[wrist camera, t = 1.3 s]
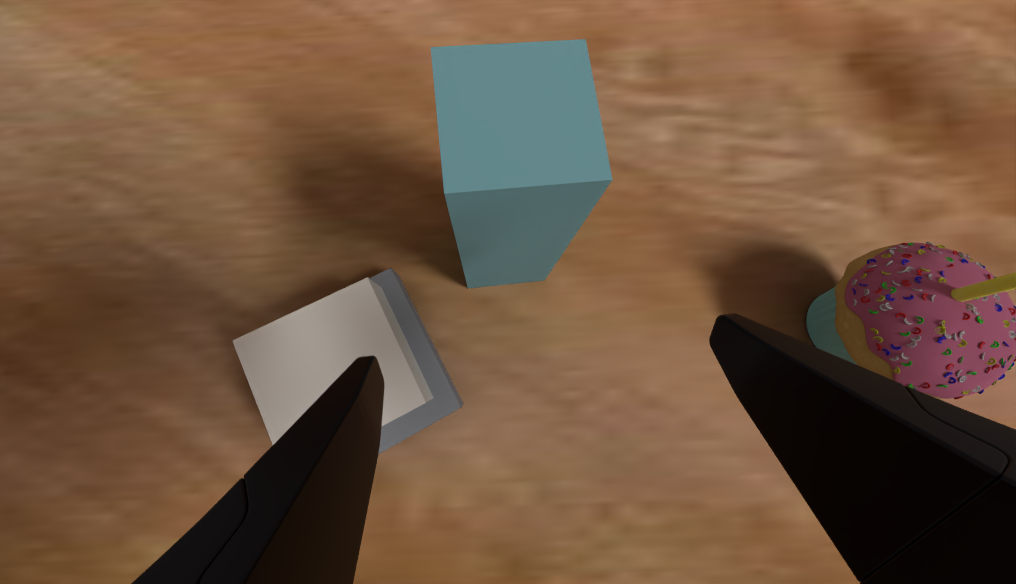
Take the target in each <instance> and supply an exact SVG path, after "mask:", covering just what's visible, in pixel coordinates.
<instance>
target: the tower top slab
mask: <svg viewBox="0 0 1016 584" xmlns="http://www.w3.org/2000/svg"><path fill="white" fill-rule="evenodd" d="M233 344H234V347H235V349H236V352H237V354H238V357H239V359H240V362H241V365H242V367H243V370H244V372H245V375H246V377H247V380H248V383H249V385H250V388H251V390H252V393H253V395H254V398H255V401H256V403H257V406H258V408H259V411H260V413H261V416H262V419H263V421H264V424H265V426H266V429H267V431H268V434H269V437H270V439H271V442H272V444H273V445H274V444H275V443H276V441H277V440H278V439H279V438H280V437H281V436H282V435H283V434H284V433H285V432H286V431H287V430H288V429H289V428H290V427H291V426H292V425H293V424H294V423H295V422H296V421H297V420H298V419H299V418H300V417H301V416H302V415H303V413H304V412H305V411H306V410H307V409H308V408H309V407H310V406H311V405H312V404H313V403H314V402H315V401H316V400H317V399H318V398H319V397H320V396H321V395H322V394H323V393H324V392H325V391H326V390H327V389H328V388H329V386H330V385H331V384H332V383H333V382H334V381H335V380H336V379H337V378H338V377H339V376H340V375H341V374H342V373H343V372H344V371H345V370H346V369H347V368H348V367H349V366H350V365H351V364H352V363H353V362H354V361H355V360H356V359H357V358H358V357H362V356H371V355H373V356H375V357H376V358H377V360H378V363H379V366H380V369H381V371H382V374H383V377H384V384H385V388H384V401H383V414H382V426H384V425H385V424H387V423H389V422H391V421H393V420H395V419H397V418H399V417H400V416H402V415H404V414H406V413H408V412H410V411H412V410H414V409H415V408H417V407H419V406H421V405H423V404H425V403H427V402H428V401H430V400H431V399H433V395H432V393H431V391H430V389H429V387H428V385H427V383H426V381H425V378H424V376H423V374H422V372H421V370H420V368H419V366H418V364H417V361H416V359H415V357H414V355H413V353H412V351H411V349H410V347H409V344H408V342H407V340H406V338H405V336H404V334H403V332H402V330H401V327H400V325H399V323H398V321H397V319H396V317H395V315H394V313H393V311H392V308H391V306H390V304H389V302H388V300H387V298H386V296H385V294H384V291H383V289H382V287H380V286H379V285H377V284H376V283H375V282H373V281H372V280H371V279H369V278H368V277H367V278H365V279H363V280H361V281H358V282H356V283H354V284H352V285H350V286H348V287H346V288H344V289H341V290H339V291H337V292H335V293H333V294H331V295H329V296H326V297H324V298H322V299H320V300H318V301H316V302H314V303H312V304H309V305H307V306H305V307H303V308H301V309H299V310H297V311H294V312H292V313H290V314H288V315H286V316H284V317H282V318H280V319H277V320H275V321H273V322H271V323H269V324H267V325H265V326H262V327H260V328H258V329H256V330H254V331H252V332H250V333H248V334H245V335H243V336H241V337H239V338H237V339H235V340H233Z"/></svg>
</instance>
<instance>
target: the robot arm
mask: <svg viewBox="0 0 1016 584" xmlns="http://www.w3.org/2000/svg"><path fill="white" fill-rule="evenodd" d="M709 342H710V346H711V348H712V350H713V352H714V354H715V356H716V358H717V360H718V362H719V364H720V366H721V368H722V370H723V371H724V373H725V375H726V377H727V379H728V381H729V383H730V385H731V387H732V389H733V390H734V392H735V394H736V396H737V397H738V399H739V401H740V402H741V404H742V405H743V407H744V408H745V410H746V411H747V413H748V414H749V416H750V417H751V419H752V420H753V422H754V424H755V425H756V427H757V428H758V430H759V431H760V433H761V434H762V436H763V437H764V439H765V440H766V442H767V443H768V445H769V446H770V448H771V449H772V451H773V452H774V454H775V455H776V457H777V458H778V460H779V461H780V463H781V465H782V466H783V468H784V469H785V471H786V472H787V474H788V475H789V477H790V478H791V480H792V481H793V483H794V484H795V486H796V487H797V489H798V490H799V492H800V493H801V495H802V496H803V498H804V499H805V501H806V502H807V504H808V506H809V507H810V509H811V510H812V512H813V513H814V515H815V516H816V518H817V519H818V521H819V522H820V524H821V525H822V527H823V528H824V530H825V531H826V533H827V534H828V536H829V537H830V539H831V540H832V542H833V543H834V545H835V547H836V548H837V550H838V551H839V553H840V554H841V556H842V557H843V559H844V560H845V562H846V563H847V565H848V566H849V568H850V569H851V571H852V572H853V574H854V575H855V577H856V578H857V580H858V581H859V582H860V584H1016V429H1013V428H1010V427H1008V426H1005V425H1003V424H1000V423H997V422H995V421H992V420H990V419H987V418H984V417H982V416H979V415H977V414H974V413H972V412H969V411H966V410H964V409H961V408H959V407H956V406H954V405H952V404H949V403H947V402H944V401H942V400H939V399H937V398H935V397H932V396H930V395H927V394H925V393H923V392H920V391H918V390H916V389H913V388H911V387H909V386H904V385H903V384H901V383H899V382H896V381H894V380H892V379H889V378H887V377H885V376H882V375H880V374H878V373H875V372H873V371H870V370H868V369H866V368H863V367H861V366H859V365H856V364H854V363H852V362H849V361H847V360H844V359H842V358H840V357H837V356H835V355H833V354H830V353H828V352H826V351H823V350H821V349H818V348H816V347H814V346H811V345H809V344H807V343H804V342H802V341H800V340H797V339H795V338H793V337H790V336H788V335H785V334H783V333H781V332H778V331H776V330H774V329H771V328H769V327H767V326H764V325H762V324H759V323H757V322H755V321H752V320H750V319H748V318H745V317H743V316H741V315H738V314H735V313H731V314H723V315H719V316H718V317H717V319H716V321H715V324H714V327H713V329H712V332H711V335H710V339H709ZM384 388H385V384H384V377H383V374H382V371H381V369H380V366H379V363H378V360H377V358H376V357H375V356H373V355H371V356H362V357H358V358H357V359H356V360H355V361H354V362H353V363H352V364H351V365H350V366H349V367H348V368H347V369H346V370H345V371H344V372H343V373H342V374H341V375H340V376H339V377H338V378H337V379H336V380H335V381H334V382H333V383H332V384H331V385H330V386H329V388H328V389H327V390H326V391H325V392H324V393H323V394H322V395H321V396H320V397H319V398H318V399H317V400H316V401H315V402H314V403H313V404H312V405H311V406H310V407H309V408H308V409H307V410H306V411H305V412H304V413H303V415H302V416H301V417H300V418H299V419H298V420H297V421H296V422H295V423H294V424H293V425H292V426H291V427H290V428H289V429H288V430H287V431H286V432H285V433H284V434H283V435H282V436H281V437H280V438H279V439H278V440H277V441H276V443H275V444H274V445H273V446H272V447H271V448H270V449H269V450H268V451H267V452H266V453H265V454H264V455H263V456H262V457H261V458H260V459H259V460H258V461H257V462H256V463H255V464H254V465H253V466H252V467H251V468H250V470H249V471H248V472H247V473H246V474H245V475H244V478H241V479H240V480H239V481H238V482H237V483H236V484H235V485H234V486H233V487H232V488H231V489H230V490H229V491H228V492H227V493H226V494H225V495H224V496H223V497H222V498H221V499H220V500H219V501H218V502H217V503H216V504H215V505H214V506H213V507H212V508H211V509H210V510H209V511H208V512H207V513H206V514H205V515H204V516H203V517H202V518H201V519H200V520H199V521H198V522H197V523H196V524H195V525H194V526H193V527H192V528H191V529H190V530H189V531H188V532H187V533H186V534H185V535H183V536H182V537H181V538H180V539H179V540H178V541H177V542H176V543H175V544H174V545H173V546H172V547H171V548H170V549H169V550H168V551H166V552H165V553H164V554H163V555H162V556H161V557H160V558H159V559H158V560H157V561H156V562H154V563H153V564H152V565H151V566H150V567H149V568H148V569H147V570H146V571H145V572H144V573H142V574H141V575H140V576H139V577H138V578H137V579H136V580H135V581H134V582H133V583H132V584H353V581H354V576H355V571H356V565H357V560H358V555H359V550H360V545H361V540H362V535H363V530H364V525H365V520H366V514H367V509H368V504H369V499H370V494H371V489H372V484H373V479H374V474H375V469H376V464H377V458H378V453H379V447H380V439H381V427H382V414H383V401H384Z"/></svg>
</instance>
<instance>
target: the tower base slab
mask: <svg viewBox="0 0 1016 584" xmlns="http://www.w3.org/2000/svg"><path fill="white" fill-rule="evenodd" d="M369 279H371V280H372V281H373V282H375V283H376V284H377V285H379V286H380V287H382V289H383V291H384V294H385V296H386V298H387V300H388V302H389V304H390V306H391V308H392V311H393V313H394V315H395V317H396V319H397V321H398V323H399V325H400V327H401V330H402V332H403V334H404V336H405V338H406V340H407V342H408V344H409V347H410V349H411V351H412V353H413V355H414V357H415V359H416V361H417V364H418V366H419V368H420V370H421V372H422V374H423V376H424V378H425V381H426V383H427V385H428V387H429V389H430V391H431V393H432V395H433V399H431V400H430V401H428V402H427V403H425V404H423V405H421V406H419V407H417V408H415V409H414V410H412V411H410V412H408V413H406V414H404V415H402V416H400V417H399V418H397V419H395V420H393V421H391V422H389V423H387V424H385V425H384V426H382V427H381V439H380V447H379V453H378V454H380V453H381V452H383V451H385V450H387V449H389V448H390V447H392V446H394V445H396V444H397V443H399V442H401V441H403V440H404V439H406V438H408V437H410V436H412V435H413V434H415V433H417V432H419V431H420V430H422V429H424V428H426V427H427V426H429V425H431V424H433V423H435V422H436V421H438V420H440V419H442V418H443V417H445V416H447V415H449V414H450V413H452V412H454V411H456V410H458V409H459V408H461V407H462V405H463V402H462V400H461V398H460V396H459V394H458V392H457V390H456V388H455V386H454V384H453V382H452V380H451V378H450V376H449V374H448V372H447V370H446V368H445V366H444V364H443V362H442V360H441V358H440V356H439V354H438V352H437V350H436V348H435V346H434V344H433V343H432V341H431V339H430V337H429V335H428V333H427V331H426V329H425V327H424V325H423V323H422V321H421V319H420V317H419V315H418V313H417V311H416V309H415V307H414V305H413V303H412V301H411V299H410V297H409V295H408V293H407V291H406V289H405V287H404V285H403V283H402V281H401V279H400V277H399V275H398V274H397V273H396V272H395V271H394V270H393V269H392V268H389V269H387V270H385V271H383V272H381V273H379V274H377V275H375V276H373V277H371V278H369Z"/></svg>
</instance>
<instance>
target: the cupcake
mask: <svg viewBox="0 0 1016 584" xmlns="http://www.w3.org/2000/svg"><path fill="white" fill-rule="evenodd" d="M928 243H929V244H928ZM939 246H940V247H939ZM942 247H943V248H942ZM960 253H961V254H960ZM966 255H967V257H966V256H965V255H964V254H963V253H962V252H957V251H955V250H954V251H952V250H949V249H946V248H945V247H944V246H942V245H938V246H934V245H933V244H932V243H930V242H926V244H923V243H902V244H898V245H892V246H887V247H883V248H880V249H876V250H874V251H871V252H869V253H867V254H865V255H863V256H861V257H859V258H857V259H855V260H853V261H852V262H850V263H849V264H848V266H847V268H846V270H845V273H844V276H843V278H842V279H841V280H840V281H839V283H838V284H837V285H836V286H835V287H834V288H832V289H831V290H829V291H827V292H826V293H824V294H822V295H820V296H819V297H817V298H816V299H815V300H814V301H813V302H812V304H811V305H810V307H809V309H808V312H807V318H806V324H807V330H808V333H809V336H810V338H811V340H812V342H813V344H814V345H815V346H816V348H818V349H821V350H823V351H826V352H828V353H830V354H833V355H835V356H837V357H840V358H842V359H844V360H847V361H849V362H852V363H854V364H856V365H859V366H861V367H863V368H866V369H868V370H870V371H873V372H875V373H878V374H880V375H882V376H885V377H887V378H889V379H892V380H894V381H896V382H899V383H901V384H903V385H904V386H909V387H911V388H913V389H916V390H918V391H920V392H923V393H925V394H927V395H930V396H932V397H935V398H937V399H942V398H954V399H959V398H962V397H963V396H966V395H971V394H975V393H977V392H978V393H979V394H981V393H983V391H984V389H986V388H987V387H989V386H990V385H995V383H996V381H997V379H998V380H1000V379H1002V378H1004V376H1005V374H1004V373H1005V372H1006V371H1008V370H1010V369H1011V367H1012V366H1013V365H1014V361H1016V359H1015V358H1016V307H1015V306H1014V304H1013V302H1012V300H1011V299H1010V297H1009V295H1008V294H1007V292H1006V291H1009V290H1013V289H1016V272H1015V273H1012V274H1008V275H1004V276H1001V277H994V276H993V275H992V274H991V273H989V272H988V271H987V270H986V269H984V268H985V266H983V265H981V264H980V263H978V262H975V261H973V260H972V259H970V257H969V255H968V254H966ZM1001 376H1002V377H1001ZM999 377H1000V378H999Z"/></svg>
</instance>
